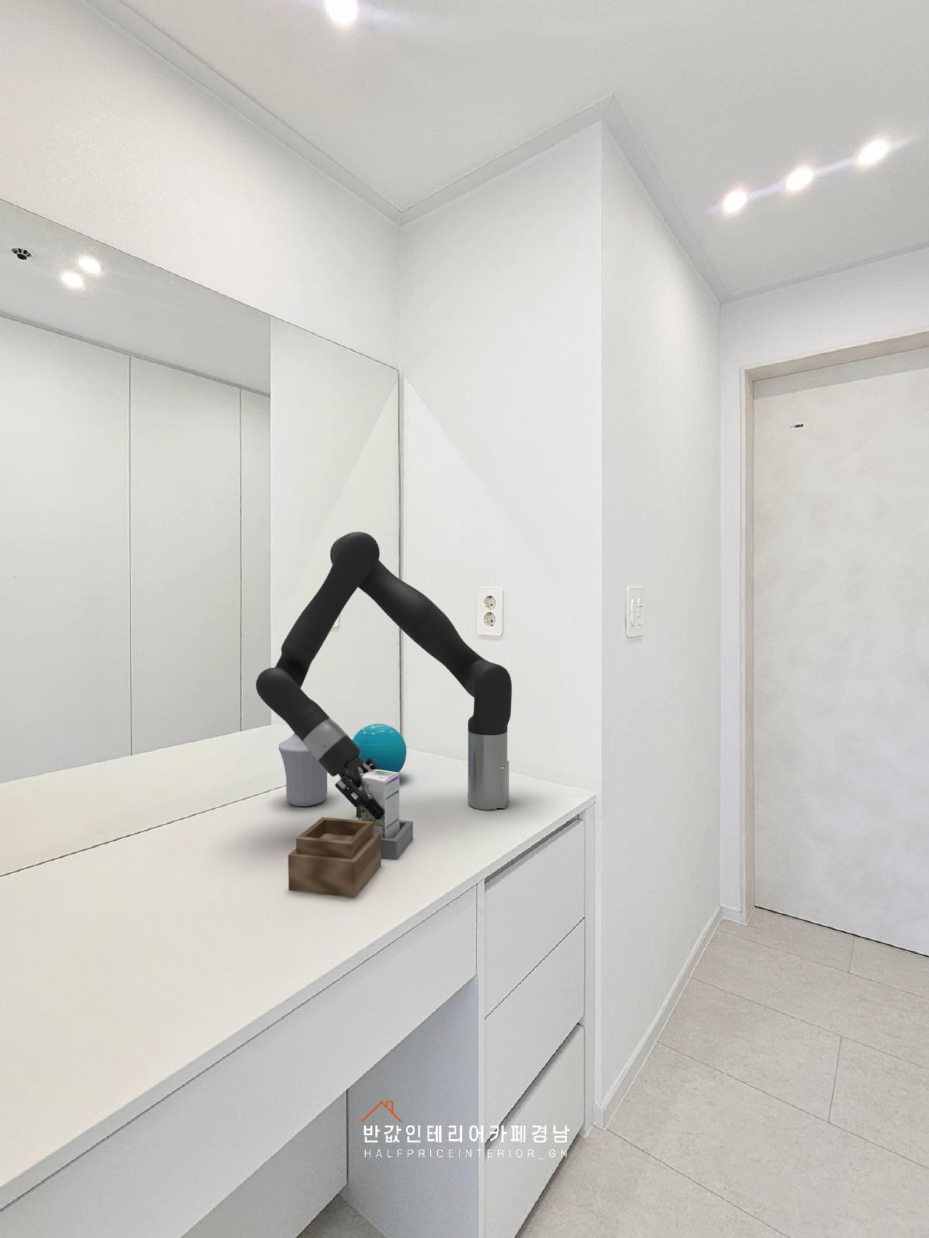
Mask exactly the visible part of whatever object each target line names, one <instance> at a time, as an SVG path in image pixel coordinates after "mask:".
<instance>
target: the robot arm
mask: <svg viewBox="0 0 929 1238" xmlns="http://www.w3.org/2000/svg"><path fill="white" fill-rule="evenodd" d="M380 555H381V552H380V546H379V544H378V542H377V540H376V538H374V537H373V536H372V535H370V534H369V533H367V532H363V531H352V532H349V533H347V534H344V535H343V536H341V537H339V538H338V539H336V540H335V541H334V542H333V544H332V545H331V547H330V552H329V558H330V559H329V560H330V562H331V564H332V565H331V567H330V570H329V571H328V574H327V576H326V578H325V580H324V581H323V583H322V585H321V586H320V588H319V589H318V591H317V592H316V593H315V595H314V596H313V597H312V599H311V600H310V601H309V603H308V604H307V605H306V606H305V608H304V609H303V611H302V612H301V613H300V615H299V616H298V618H297V619H296V620H295V622H294V623H293V625H292V627H291V629H290V630H289V632H288V634H287V635H286V638H285V639H284V640H283V643H282V645H281V649H280V650H281V651H280V652H281V654H280V657H279V659H278V660H277V662H276V664H275V666H274V667H269V668H266V669H264V670H262V671H261V672H260V673H259V674H258V676H257V678H256V680H255V681H256V682H255V688H256V693H257V694H258V696H259V698H260V699H261V700H262V701H263V702H264V703H265V704H266V706H268V708H270V709H271V710H272V711H273V712H274V713H276V715H277V716H279V717H280V718H281V719H282V720H283V721H284V722H285V723H286V724H287V726H289V728H290V729H291V730H292V732H293V734H294V733H295V734H296V735H297V736H298V737H299V738H300V739H301V741H302V742H303V743H304V744H305V746H306V747H307V749H308V750H309V751H310V753H311V754H312V755H313V756H314V757H315V758H316V759H317V761H318V762H319V763H320V764H321V765H322V766H323V767H324V768H325V770H326V771H327V774H329V776H331V777H336V776H339V778H340V779H339V780H338V781H337V782H336V783H335V784H334V787H335V788H336V789H337V790H338V791H339V792H340V793H341V794H342V795H343V796H344V797H345V798H346V799H347V800H348V802H350V803H351V804H352V806H354V807H355V808H356V807H358V806H359V805H360V806H362V807H363V806H364V807H365V808H366V809H367V810H368V811H369V812H370V813H371V814H372V816H373V817H374V818H375V819H376V820H379V819H380V818H381V817H382V816H383V815H384V814H385V810H384V809H383V808H382V807H381V806H380V805H379V804H378V803H377V801H376V800H375V799H374V798H372V796H371V794H370V792H369V790H368V788H369V786H368V784H367V783H366V782H365V780H364V779H363V776H364V774H365V773H367V772H369V771H371V770H374V769H378V770H380V768H379V767H378V766H377V765H376V764H375V762H374V761H373V760H372V759H371V758H368V759H367V760H366V761H365V762H364V761H362V760H361V759H360V758H359V757H358V755H359V754H360V752H361V750H360V748H359V747H358V746H357V745H356V744H355V743H354V742H353V741H352V739H353V738H351V737H350V736H349V735H348V733H346V732H345V730H343V728H342V727H341V726H340V725H339V724H338V723H337V722H336V721H334V720H333V719H332V717H330V716H329V715H328V714H327V713H326V711H325V710H324V709H323V708H322V707H321V706H320V705H319V704H318V703H317V702H316V701H315V700H314V699H311V698H310V697H309V696H308V695H307V694H306V693H305V691H303V690H302V686H303V685H304V682H305V680H306V677H307V674H308V672H309V670H310V666H311V664H312V663H313V661H314V659H315V658H316V657H317V655H318V654H319V651H320V650H321V648H322V646H323V645H324V642H325V641H326V640H327V637H328V636H329V634H330V632H331V631H332V629H333V627H334V625H335V623H336V622H337V620H338V618H339V617H340V615H341V612H342V611H343V609H344V608H345V606H346V605H347V604H348V602H349V600H351V598H352V596H353V594H354V593H355V592H356V590H357V589H358V588H359V589H360V590H361V591H362V592H363V593H365V594H366V595H367V596H368V597H370V598H371V600H373V601H374V602H375V604H377V606H378V607H379V608H380V609H381V610H382V611H383V612H384V613H385V614H386V615H387V617H389V618H390V619H391V621H392V622H394V623H395V624H396V625H397V627H398V628H399V629H400V630H401V631H403V632H404V633H405V634H406V635H407V637H409V638H410V639H411V640H412V641H413V642H414V643H415V644H416V645H418V646H419V647H420V648H421V649H423V650H424V651H425V652H426V653H428V655H430V656H431V657H432V658H434V659H435V660H436V661H438V662H439V663H440V664H441V665H443V667H445V668H446V669H447V670H448V671H449V672H450V674H452V675H453V677H454V678H455V679H456V680H457V682H458V683H459V684H460V685H461V686H462V688H463V689H464V690H465V692H467V693H468V694H469V696H471V697H472V698H473V714H472V716H471V717H469V718H468V720H467V804H468V805H469V806H470V807H471V808H474V809H476V810H477V809H478V810H485V811H487V810H488V811H491V810H492V809H493V810H498V809H497V808H505V809H506V807H507V805H508V803H509V801H508V800H510V784H509V783H510V762H509V760H508V729H509V728H508V725H509V723H510V720H511V717H512V698H513V694H512V693H513V692H512V691H513V683H512V678H511V674H510V673H509V671H508V670H507V668H505V667H504V666H502V665H500V664H498V663H495V662H491V661H488V660H487V659H485V658H483V657H482V656H481V655H480V654H478V652H476V651H474V650H473V649H472V648H471V647H470V646H469V645H468V644H467V643H466V642H465V641H464V640H463V639H462V637H461V635H460V633H459V632H458V630H457V629H456V627H455V626H454V624H453V622H452V621H451V620H450V618H449V617H448V616H447V615H446V613H445V612H443V610H441V609H440V607H439V606H438V605H436V604H435V603H434V602H433V601H432V600H431V599H430V598H429V597H428V596H427V595H425V594H424V593H423V592H422V591H419V590H418V589H417V588H415V587H413V586H412V585H410V584H409V583H407V582H405V581H404V580H402V579H400V578H399V577H398V576H396V575H395V574H394V573H393V572H391V571H390V570H389V569H388V568H387V567H386V566H385V564H384V563H382V562H381V560H380ZM363 793H364V794H365V795H364V794H363ZM356 798H357V799H356ZM371 798H372V799H371ZM507 802H508V803H507ZM506 804H507V805H506Z"/></svg>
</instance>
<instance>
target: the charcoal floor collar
mask: <svg viewBox="0 0 929 1238" xmlns="http://www.w3.org/2000/svg"><path fill="white" fill-rule="evenodd" d="M399 828H400V831H399V832H398V834H397V835H396V836H395V837H394V838H393V839H392V838H381V859H389V860H398V859H399V858H400V856H401V855H402V853H403V852H404V851H405V850H406V848H407V847H408V845H409V844H410V843H411V841H412V840H413V839H414V821H413V820H404V819H403V820H401V819H399Z"/></svg>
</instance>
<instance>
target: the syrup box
mask: <svg viewBox="0 0 929 1238" xmlns="http://www.w3.org/2000/svg"><path fill="white" fill-rule="evenodd" d="M363 779H364V780H365V782H366V783H367V784H368V786H369V788H368V790H369V792H370V794H371V796H372V798H374V799H375V800H376V801H377V803H378V804H379V805H380V806H381V807H382V808H383V809H384V810H385V814H384V815H383V816H382V817H381V818H380V819H379V820H376V819H375V818H374V817H373V816H372V814H371V813H370V812H369V811H368V810H367V809H366V808H365V807H364V806H363V807H362V806H361V818H360V821H372V822H373V828H374V833H381V838H392V839H393V838H394V837H395V836H396V835H397V834H398V832H399V831H400V828H399V820H400V772H399V773H398V772H392V771H385V770H378V769H374V770H371V771H369V772H367V773H365V774H364V776H363ZM363 794H364V793H363ZM364 795H365V794H364ZM372 798H371V799H372Z"/></svg>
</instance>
